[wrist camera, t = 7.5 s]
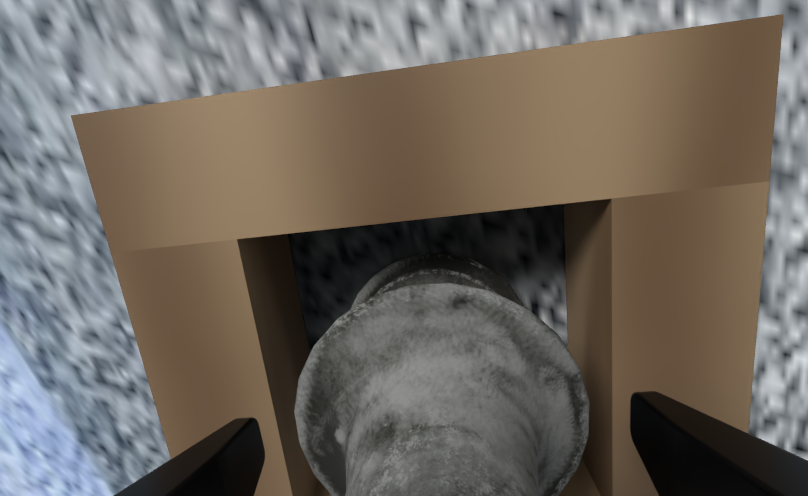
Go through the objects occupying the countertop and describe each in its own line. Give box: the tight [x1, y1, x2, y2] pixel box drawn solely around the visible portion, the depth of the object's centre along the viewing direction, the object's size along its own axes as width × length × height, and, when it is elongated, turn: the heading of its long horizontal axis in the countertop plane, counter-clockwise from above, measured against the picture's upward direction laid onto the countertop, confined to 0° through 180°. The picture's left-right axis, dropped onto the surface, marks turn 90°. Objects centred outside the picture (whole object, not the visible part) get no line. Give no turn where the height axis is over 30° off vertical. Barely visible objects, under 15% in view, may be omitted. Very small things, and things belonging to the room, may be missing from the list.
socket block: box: [71, 14, 783, 496], centre depth 11 cm, size 14×14×3 cm
